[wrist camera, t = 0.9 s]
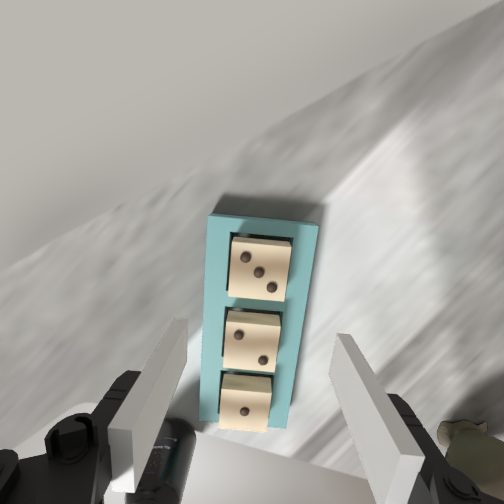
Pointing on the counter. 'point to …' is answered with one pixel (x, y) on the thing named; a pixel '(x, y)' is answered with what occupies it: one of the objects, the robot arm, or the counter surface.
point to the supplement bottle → (166, 465)
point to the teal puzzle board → (218, 300)
